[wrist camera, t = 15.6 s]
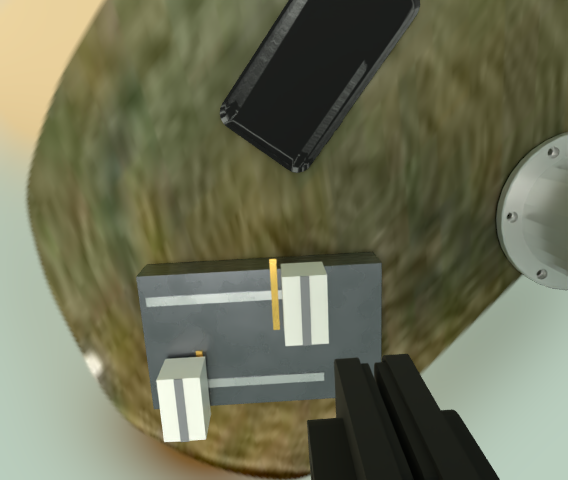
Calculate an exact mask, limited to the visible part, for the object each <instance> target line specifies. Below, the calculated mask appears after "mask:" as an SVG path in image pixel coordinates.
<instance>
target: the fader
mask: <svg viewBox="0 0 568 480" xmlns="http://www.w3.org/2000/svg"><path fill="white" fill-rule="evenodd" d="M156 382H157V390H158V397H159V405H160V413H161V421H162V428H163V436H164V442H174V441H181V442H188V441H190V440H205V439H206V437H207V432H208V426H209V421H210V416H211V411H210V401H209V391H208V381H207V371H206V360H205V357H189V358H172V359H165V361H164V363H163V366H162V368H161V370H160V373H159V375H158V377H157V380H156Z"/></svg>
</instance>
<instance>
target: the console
mask: <svg viewBox="0 0 568 480" xmlns="http://www.w3.org/2000/svg"><path fill="white" fill-rule="evenodd" d="M305 262H322V263H323V266H324V268H325V271H326V273H327V291H328V330H329V344H314V345H308V346H303V345H297V346H285V335H284V320H283V300H282V281H281V264H287V263H305ZM136 278H137V286H138V293H139V301H140V308H141V316H142V323H143V331H144V338H145V346H146V353H147V361H148V368H149V376H150V383H151V391H152V398H153V406H154V409H160V405H159V397H158V390H157V382H156V380H157V377H158V375H159V373H160V370H161V368H162V366H163V363H164V361H165V359H172V358H189V357H205V360H206V371H207V381H208V391H209V401H210V406H212V405H228V404H244V403H260V402H276V401H292V400H309V399H325V398H336V397H335V375H334V359H343V358H357V357H358V358H359V360H360V363H361V364H362V363H368V364H369V366H370V369H371V371H372V374H373V376H374V364H375V363H376V362H381V282H382V263H381V262H380V260H379V259H378V258H377V257H376V255H375V254H374V253H373V252H363V253H345V254H327V255H309V256H291V257H273V258H255V259H237V260H219V261H202V262H184V263H166V264H148V265H146V266H145V267H144V268H143V269H142V271H141V272H140V273H139V274H138V275H137V277H136Z"/></svg>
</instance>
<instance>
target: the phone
mask: <svg viewBox="0 0 568 480" xmlns="http://www.w3.org/2000/svg"><path fill="white" fill-rule="evenodd" d="M419 7H420V0H289V1H288V3H287V4H286V6H285V7H284V9H283V10H282V12H281V13H280V15H279V17H278V18H277V20H276V21H275V23H274V24H273V26H272V27H271V29H270V31H269V32H268V34H267V35H266V37H265V38H264V40H263V41H262V43H261V44H260V46H259V48H258V49H257V51H256V52H255V54H254V55H253V57H252V58H251V60H250V62H249V63H248V65H247V66H246V68H245V69H244V71H243V72H242V74H241V75H240V77H239V79H238V80H237V82H236V83H235V85H234V86H233V88H232V89H231V91H230V93H229V94H228V96H227V97H226V99H225V100H224V102H223V103H222V106H221V108H220V117H221V120H222V122H223V123H224V124H225V125H226V126H227V127H228V128H230V129H231V130H232V131H234V132H235V133H237V134H238V135H239V136H241V137H242V138H244V139H245V140H247V141H248V142H249V143H251V144H252V145H254V146H255V147H257V148H258V149H259V150H261V151H262V152H264V153H265V154H267V155H268V156H269V157H271V158H272V159H274V160H275V161H276V162H278V163H279V164H281V165H282V166H284V167H285V168H286V169H288V170H290V171H292V172H296V173H298V172H303V171H305V170H307V169H308V168H309V167H310V165H311V164H312V162H313V161H314V160H315V158H316V157H317V156H318V155H319V153H320V152H321V150H322V148H323V147H324V145H325V144H327V142H328V141H329V139H330V138H331V137H332V135H333V134H334V131H335V130H337V128H338V127H339V126H340V124H341V123H342V120H343V119H344V117H345V116H346V114H347V113H348V111H349V110H350V109H351V107H352V106H353V104H354V103H355V102H356V100H357V99H358V97H359V96H360V94H361V93H362V92H363V90H364V89H365V87H366V86H367V85H368V83H369V82H370V80H371V79H372V77H373V76H374V75H375V73H376V72H377V70H378V69H379V67H380V66H381V65H382V63H383V62H384V60H385V59H386V58H387V56H388V55H389V53H390V52H391V50H392V49H393V48H394V46H395V45H396V43H397V42H398V41H399V39H400V38H401V36H402V35H403V33H404V32H405V31H406V29H407V28H408V26H409V25H410V24H411V22H412V21H413V19H414V18H415V16H416V15H417V13H418V11H419Z"/></svg>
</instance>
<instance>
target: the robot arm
mask: <svg viewBox="0 0 568 480" xmlns="http://www.w3.org/2000/svg"><path fill="white" fill-rule="evenodd" d="M548 150H549V154H548ZM508 214H509V217H507V215H508ZM496 223H497V234H498V238H499V241H500V245H501V248H502V250H503V251H504V253H505V255H506V257H507V259H508V260H509V261H510V263H511V264H512V265H513V266H514V267H515V268H516V269H517V270H518V271H519V272H521V273H522V274H523V275H525V276H526V277H527V278H529V279H531V280H532V281H534V282H536V283H538V284H540V285H544V286H547V287H549V288H553V289H561V290H568V132H567V133H562V134H560V135H557V136H555V137H553V138H551V139H548V140H546V141H545V142H543V143H542V144H540V145H539V146H537V147H536V148H534V149H533V150H531V151H530V152H529V153H528V154H527V155H526V156H525V157H524V158H523V159H522V160H521V161H520V162H519V163H518V165H517V166H516V167H515V169H514V170H513V171H512V173H511V174H510V176H509V178H508V180H507V182H506V183H505V185H504V187H503V189H502V193H501V196H500V199H499V202H498V208H497V217H496ZM334 375H335V397H336V418H331V419H317V420H307V427H308V443H309V458H310V471H311V480H500V479H499V478H498V476H497V474H496V473H495V471H494V470H493V468H492V466H491V465H490V463H489V462H488V460H487V459H486V457H485V455H484V454H483V452H482V451H481V449H480V447H479V446H478V444H477V443H476V441H475V439H474V438H473V436H472V435H471V433H470V432H469V430H468V428H467V427H466V425H465V424H464V422H463V421H462V419H461V417H460V416H459V414H458V413H457V412H456V411H455V410H440V408H439V407H438V405H437V403H436V402H435V400H434V398H433V396H432V395H431V393H430V391H429V389H428V388H427V386H426V384H425V382H424V381H423V379H422V377H421V376H420V374H419V372H418V370H417V369H416V367H415V365H414V363H413V362H412V360H411V358H410V356H409V355H408V354H398V355H384V356H383V357H382V362H376V363H375V364H374V376H373V374H372V371H371V369H370V366H369V364H368V363H362V364H361V363H360V360H359V358H358V357H357V358H343V359H334Z"/></svg>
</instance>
